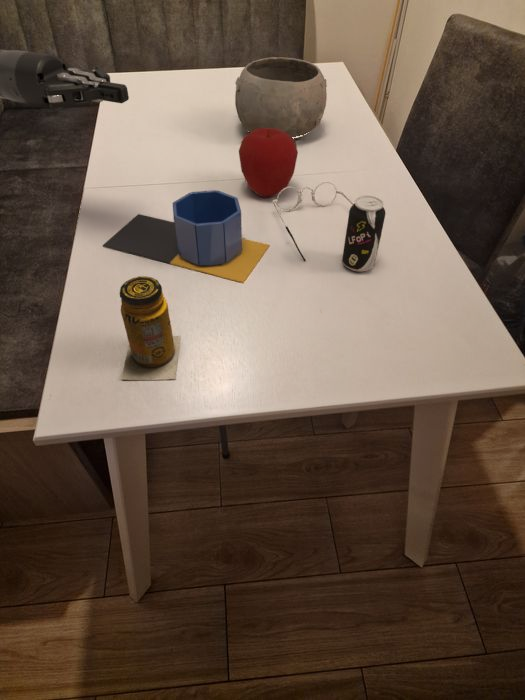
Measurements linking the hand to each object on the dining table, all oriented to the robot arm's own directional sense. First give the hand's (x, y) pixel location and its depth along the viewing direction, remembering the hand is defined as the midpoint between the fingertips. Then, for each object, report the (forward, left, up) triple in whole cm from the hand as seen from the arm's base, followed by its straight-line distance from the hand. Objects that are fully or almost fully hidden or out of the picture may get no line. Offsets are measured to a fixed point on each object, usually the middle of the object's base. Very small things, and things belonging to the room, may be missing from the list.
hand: (125, 94), depth 72 cm
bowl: (+32, +47, -25) cm, 62 cm away
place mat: (+6, -3, -25) cm, 26 cm away
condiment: (+1, -30, -25) cm, 40 cm away
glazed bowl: (+11, -5, -25) cm, 27 cm away
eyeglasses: (+32, 0, -25) cm, 41 cm away
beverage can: (+36, -12, -25) cm, 46 cm away
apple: (+24, +16, -25) cm, 38 cm away
